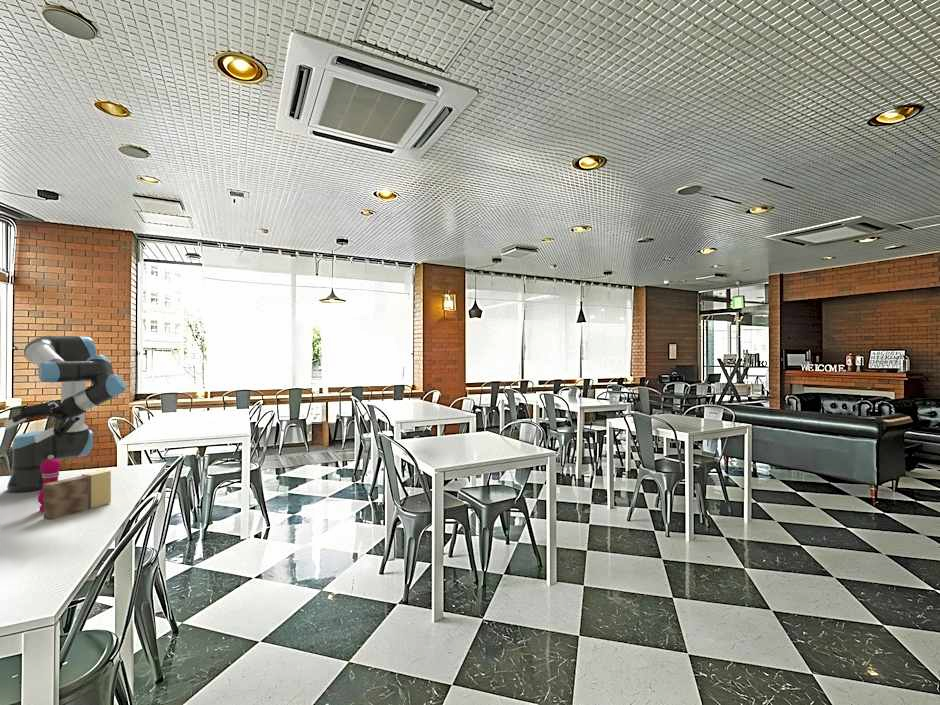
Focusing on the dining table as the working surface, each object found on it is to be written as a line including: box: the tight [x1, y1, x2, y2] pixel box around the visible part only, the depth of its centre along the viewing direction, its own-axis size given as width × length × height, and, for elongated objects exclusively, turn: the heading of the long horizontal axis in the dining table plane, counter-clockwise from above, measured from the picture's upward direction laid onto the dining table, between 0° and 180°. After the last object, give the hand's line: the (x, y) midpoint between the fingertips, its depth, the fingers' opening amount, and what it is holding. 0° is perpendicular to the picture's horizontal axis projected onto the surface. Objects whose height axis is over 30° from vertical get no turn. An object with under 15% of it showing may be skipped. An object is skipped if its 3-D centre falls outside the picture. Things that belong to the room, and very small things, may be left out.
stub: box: [80, 469, 112, 510], centre depth 193 cm, size 8×4×12 cm, turn 160°
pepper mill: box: [37, 455, 62, 513], centre depth 188 cm, size 7×7×20 cm
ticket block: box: [43, 475, 89, 521], centre depth 183 cm, size 12×4×12 cm, turn 160°
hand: (20, 433), depth 187 cm, fingers open, 13 cm apart
